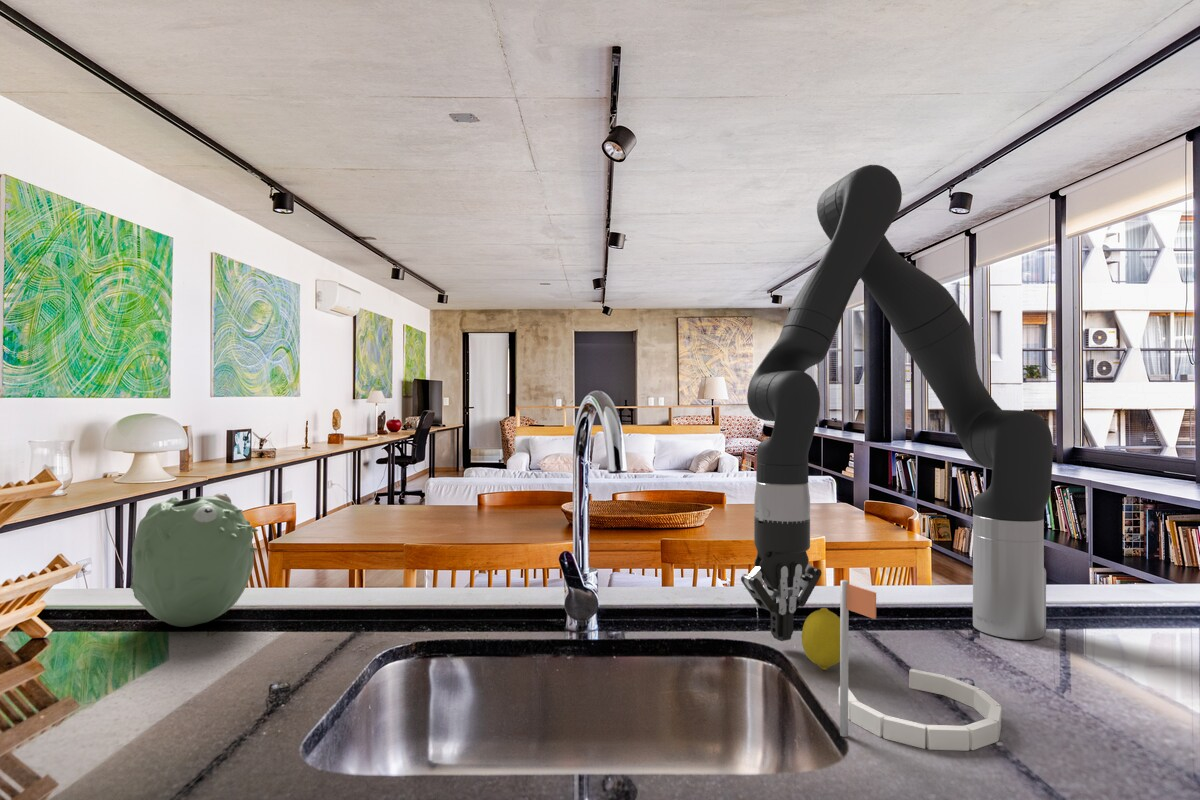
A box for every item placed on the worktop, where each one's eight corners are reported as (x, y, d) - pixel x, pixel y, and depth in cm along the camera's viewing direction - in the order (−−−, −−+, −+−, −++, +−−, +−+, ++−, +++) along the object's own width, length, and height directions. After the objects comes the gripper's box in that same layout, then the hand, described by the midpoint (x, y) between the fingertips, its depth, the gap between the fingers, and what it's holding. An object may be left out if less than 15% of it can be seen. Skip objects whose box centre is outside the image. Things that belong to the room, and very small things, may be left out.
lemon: (849, 680, 86) (850, 615, 86) (803, 676, 87) (803, 612, 87) (843, 663, 92) (843, 602, 92) (799, 660, 93) (800, 600, 93)
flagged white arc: (922, 681, 86) (922, 552, 86) (1033, 729, 74) (1034, 578, 73) (802, 713, 77) (802, 569, 77) (906, 773, 65) (906, 601, 65)
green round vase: (172, 606, 116) (172, 486, 116) (279, 610, 114) (279, 488, 114) (94, 638, 100) (94, 500, 100) (216, 644, 98) (216, 503, 98)
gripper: (799, 507, 103) (799, 624, 103) (726, 513, 97) (726, 637, 97) (837, 515, 96) (837, 640, 96) (762, 522, 90) (761, 655, 90)
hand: (781, 638), depth 97 cm, fingers closed
